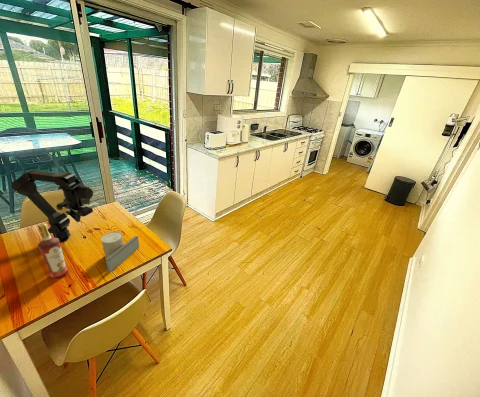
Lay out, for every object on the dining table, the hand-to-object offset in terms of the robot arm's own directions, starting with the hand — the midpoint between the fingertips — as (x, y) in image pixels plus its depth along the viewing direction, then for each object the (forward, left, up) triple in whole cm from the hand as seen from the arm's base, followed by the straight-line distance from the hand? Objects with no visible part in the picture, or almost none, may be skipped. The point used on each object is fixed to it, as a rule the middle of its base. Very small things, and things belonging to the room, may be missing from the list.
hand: (78, 221), depth 124 cm
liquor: (-2, -26, -13) cm, 29 cm away
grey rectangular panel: (+25, -19, -13) cm, 34 cm away
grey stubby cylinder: (+20, -16, -13) cm, 29 cm away
